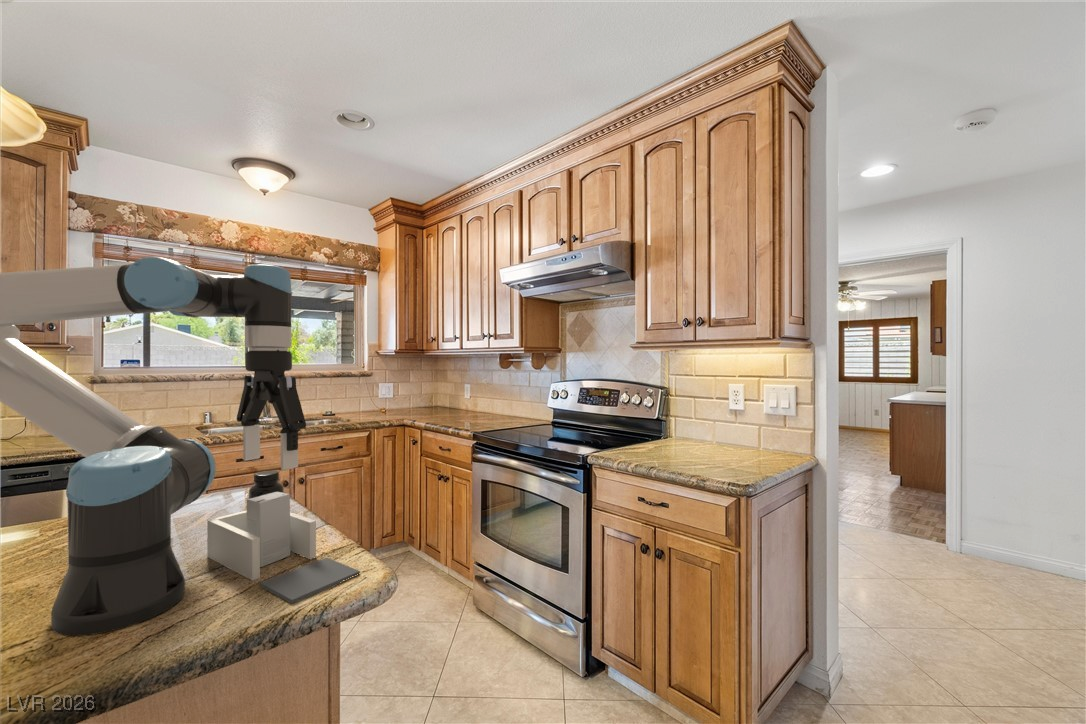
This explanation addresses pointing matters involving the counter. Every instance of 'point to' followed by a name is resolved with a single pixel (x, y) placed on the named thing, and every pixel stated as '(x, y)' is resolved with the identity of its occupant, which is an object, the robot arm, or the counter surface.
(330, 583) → the mat
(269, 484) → the supplement bottle
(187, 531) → the counter surface
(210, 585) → the counter surface
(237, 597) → the counter surface
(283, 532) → the skincare box
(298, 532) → the white u-shaped frame
